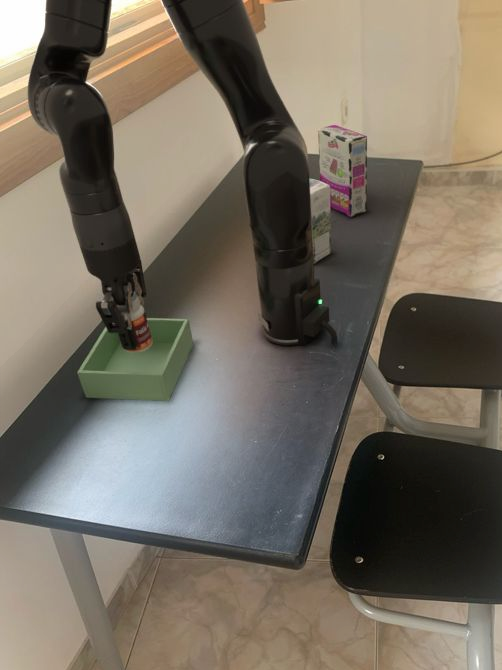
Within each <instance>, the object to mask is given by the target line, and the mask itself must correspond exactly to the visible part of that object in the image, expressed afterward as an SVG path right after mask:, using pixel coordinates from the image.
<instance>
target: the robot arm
mask: <svg viewBox="0 0 502 670" xmlns="http://www.w3.org/2000/svg"><path fill="white" fill-rule="evenodd" d="M113 3H114V1H113V0H45V3H44V18H43V30H42V33H41V36H40V39H39V41H38V45H37V47H36V50H35V54H34V57H33V61H32V65H31V67H30V72H29V76H28V82H27V103H28V109H29V112H30V114H31V117H32V118H33V120H34V122H35V123H36V125H38V126H39V127H40V128H41V130H43V131H45V132H46V133H48V134H50V135H53V136H55V137H58V138H59V142H60V144H61V148H62V152H63V156H64V157H63V158H64V161H63V162H62V163H61V164H60V166H59V169H58V174H59V180H60V184H61V187H62V190H63V193H64V196H65V199H66V203H67V206H68V208H69V212H70V217H71V223H72V227H73V230H74V233H75V236H76V240H77V242H78V245H79V249H80V252H81V255H82V259H83V261H84V264H85V268H86V270H87V272H88V273H89V274H90V275H91V276H93V277H96V278H97V279H98V280H99V281H100V284H101V292H102V294H103V299H102V300H99V301H96V302H95V309H96V311H97V313H98V315H99V316H100V318H101V320H102V322H103V324H104V327H106V328H107V330H108V332H109V333H118V335H119V338H120V341H121V344H122V347H123V349H125V350H136V348H137V346H138V344H137V340H136V337H135V334H134V330H133V327H132V322H131V315H130V314H131V313H132V312H133V306H132V299H131V298H132V296H133V294H134V293H135V294H137V295H138V298H139V301H140V305H141V306H142V307H143V308H144V306H145V300H144V298H146V297H147V288H146V282H145V276H144V269H143V263H142V259H141V255H140V252H139V251H140V250H139V247H138V244H137V243H138V242H137V241H136V236H135V232H134V230H133V225H132V221H131V217H130V215H129V214H130V213H129V212H128V209H127V207H126V204H125V202H124V198H123V194H122V191H121V187H120V183H119V179H118V176H117V173H116V170H115V146H114V145H115V144H114V129H113V121H112V117H111V113H110V111H109V108H108V106H107V105H108V104H107V103H106V100H105V99H104V97H103V95H102V94H101V92H100V91H99V90H98V89H97V88H96V87H95V86H93V85H92V84H91V83H89V82H88V81H87V79H88V75H89V72H90V68H91V64H92V62H93V61H95V60H97V59H100V58H102V57H103V56H104V55H105V52H106V50H107V46H108V41H109V31H110V27H111V18H112V10H113ZM160 3H161V5H162V7H164V8H163V9H164V11H165V13H166V15H167V17H168V19H169V21H170V23H171V25H172V27H173V28H174V31H175V33H176V34H177V37H178V39H179V40H180V42H181V44H182V45H183V47H184V49H185V51H186V52H187V54H188V55H189V56H190V58H191V59H192V60H193V62H194V64H195V65H196V66H197V68H198V69H199V70H200V71H201V73H202V74H203V75H204V77H205V78H206V79H207V80H208V81H209V83H210V84H211V85H212V86H213V88H214V89H215V90H216V92H217V93H218V96H220V98H221V100H222V101H223V103H224V105H225V107H226V109H227V111H228V113H229V115H230V118H231V120H232V122H233V125H234V128H235V129H236V133H237V135H238V138H239V140H240V143H241V146H242V150H243V159H242V178H243V187H244V188H243V189H244V195H245V202H246V210H247V217H248V223H249V227H250V232H251V237H252V244H253V245H252V246H253V252H254V262H255V271H256V280H257V288H258V295H259V306H260V313H261V314H260V313H259V312H258V321H259V322H260V324H262V334H263V336H264V338H265V340H267V341H268V342H270V343H272V344H275V345H278V346H289V347H290V346H297V345H298V346H303V347H305V346H307V344H308V343H309V342H310V341H311V340H312V339H314V338H315V337H316V336H317V335H318V334H319V333H320V332H321V331H322V330H323V329H325V331H327V332H328V334H329V335H330V338H331V344H332V345H335V344H336V345H337V344H338V335H337V332H336V329H334V327H333V326H332V325H330V324H329V322H330V307H329V306H326V305H322V302H323V300H322V299H321V280H320V279H319V278H317V277H315V264H314V261H313V242H312V217H311V200H310V180H309V179H310V167H309V165H310V164H309V155H308V154H309V153H308V148H307V145H306V144H307V143H306V141H305V139H304V136H303V135H302V133H301V132H300V130H299V128H298V126H297V125H296V122H295V121H294V119H293V117H292V116H291V114H290V112H289V110H288V109H287V107H286V105H285V103H284V101H283V100H282V98H281V96H280V94H279V92H278V90H277V88H276V86H275V84H274V81H273V80H272V77H271V75H270V73H269V70H268V67H267V64H266V61H265V58H264V54H263V52H262V48H261V45H260V43H259V40H258V37H257V34H256V32H255V28H254V26H253V24H252V21H251V19H250V16H249V13H248V10H247V9H246V5H245V2H244V0H160ZM118 305H126V308H119V306H118ZM122 315H124V317H125V322H124V319H123V317H122ZM112 323H113V324H112Z"/></svg>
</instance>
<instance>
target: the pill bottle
mask: <svg viewBox="0 0 502 670" xmlns="http://www.w3.org/2000/svg"><path fill="white" fill-rule="evenodd" d="M131 299H132V306H133V312H132V313H131V314H130V315H131V322H132V327H133V330H134V334H135V337H136V340H137V344H138V346H137V348H136V350H125V349H124V351H126V352H129V353H141V352H144V351H146V350H147V349H149V348H150V347H151V346H152V344H153V340H152V336H151V333H150V329H149V325H148V322H147V318H148V317H147V315H146V309H145V308H144V306H143V307H142V306H141V305H140V301H139V298H138V295H137V294H135V293H134V294H133V296H132V298H131ZM118 306H119V308H126V305H118ZM122 317H123V319H124V322H125V317H124V315H122ZM121 345H122V344H121ZM122 348H123V347H122Z"/></svg>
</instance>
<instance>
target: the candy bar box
mask: <svg viewBox="0 0 502 670" xmlns="http://www.w3.org/2000/svg"><path fill="white" fill-rule="evenodd" d="M317 133H318V134H317V136H318V137H317V138H318V160H319V181H321V182H324V183H326V184H328V185H330V209H333V210H334V211H336V212H339V213H341V214H343V215H345V216H347V217H349V218H352V217H355V216H358V215H359V216H360V215H361V214H364V213H366V212H367V196H368V195H367V194H368V193H367V189H368V187H367V186H368V183H367V182H368V181H367V180H368V177H367V176H368V175H367V173H368V135H365V134H362V133H359V132H357V131H354V130H351V129H347V128H345V127H342V126H339V125H337V124H331V125H328V126H324V127H322V128H319V129H317Z"/></svg>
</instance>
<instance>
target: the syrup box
mask: <svg viewBox="0 0 502 670" xmlns="http://www.w3.org/2000/svg"><path fill="white" fill-rule="evenodd" d="M309 180H310V200H311V217H312V242H313V261H314V265H315V264H318V262H320V261H321V260H323V259H325V258H326V257H328V256H329V255H332V229H331V228H332V226H331V225H332V222H331V219H332V217H331V208H330V185H328V184H326V183H324V182H321V181H320V180H317V179H314V178H309Z"/></svg>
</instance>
